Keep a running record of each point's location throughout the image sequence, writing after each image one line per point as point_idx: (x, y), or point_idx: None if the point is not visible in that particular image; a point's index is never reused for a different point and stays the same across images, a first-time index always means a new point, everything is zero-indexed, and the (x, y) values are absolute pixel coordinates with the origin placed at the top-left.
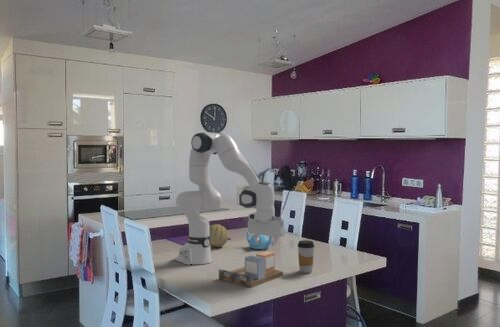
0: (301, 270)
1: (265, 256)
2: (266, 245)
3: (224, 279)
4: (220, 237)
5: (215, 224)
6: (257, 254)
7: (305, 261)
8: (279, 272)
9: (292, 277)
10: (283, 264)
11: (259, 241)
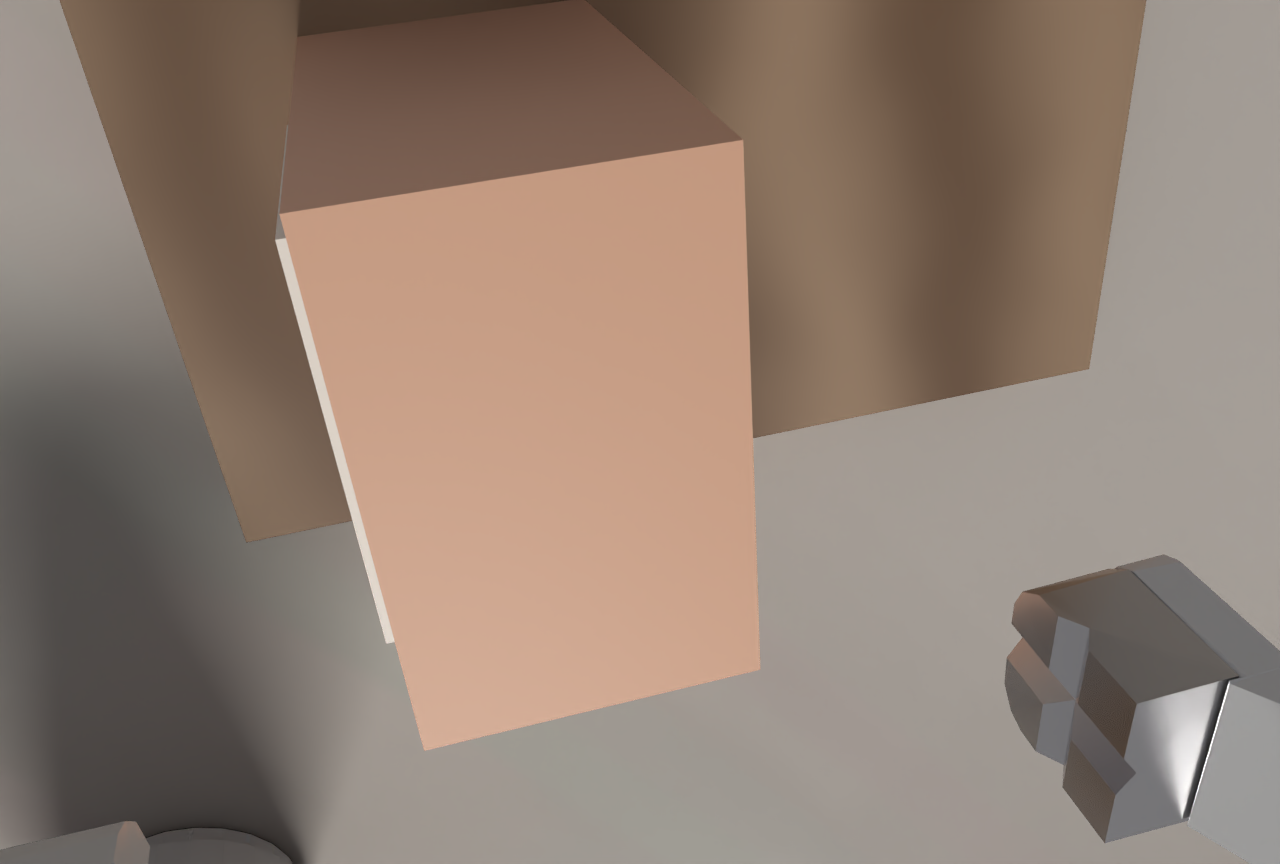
0: (178, 854)
1: (295, 259)
2: None
3: None
4: None
5: None
6: (677, 149)
7: None
8: (218, 439)
9: (5, 550)
10: (755, 843)
11: (1073, 720)
